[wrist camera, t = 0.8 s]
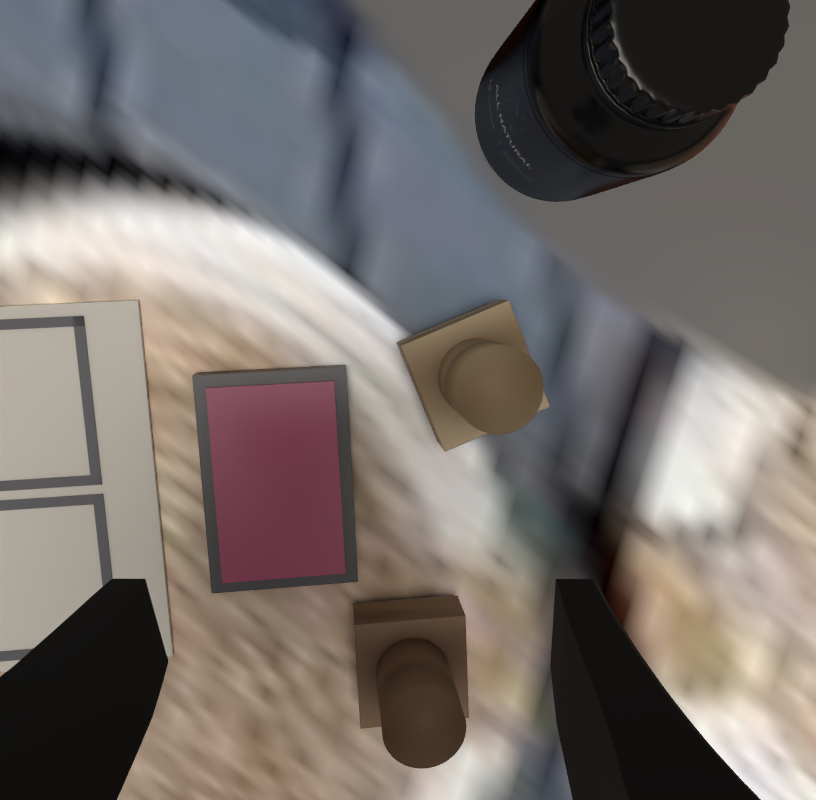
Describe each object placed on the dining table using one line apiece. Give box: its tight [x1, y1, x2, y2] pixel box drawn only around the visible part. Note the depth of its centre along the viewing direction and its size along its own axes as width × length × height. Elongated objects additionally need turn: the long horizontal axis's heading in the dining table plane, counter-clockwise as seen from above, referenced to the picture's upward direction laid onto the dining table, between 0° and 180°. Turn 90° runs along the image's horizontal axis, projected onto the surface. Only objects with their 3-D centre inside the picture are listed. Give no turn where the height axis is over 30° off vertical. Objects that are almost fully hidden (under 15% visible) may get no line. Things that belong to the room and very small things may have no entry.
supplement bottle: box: [475, 0, 790, 202], centre depth 24 cm, size 7×7×12 cm
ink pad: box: [193, 365, 358, 593], centre depth 30 cm, size 9×6×1 cm, turn 2°
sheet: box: [0, 300, 174, 672], centre depth 30 cm, size 15×11×1 cm
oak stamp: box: [396, 300, 550, 452], centre depth 28 cm, size 4×4×6 cm
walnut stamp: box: [353, 595, 469, 768], centre depth 29 cm, size 4×4×6 cm
